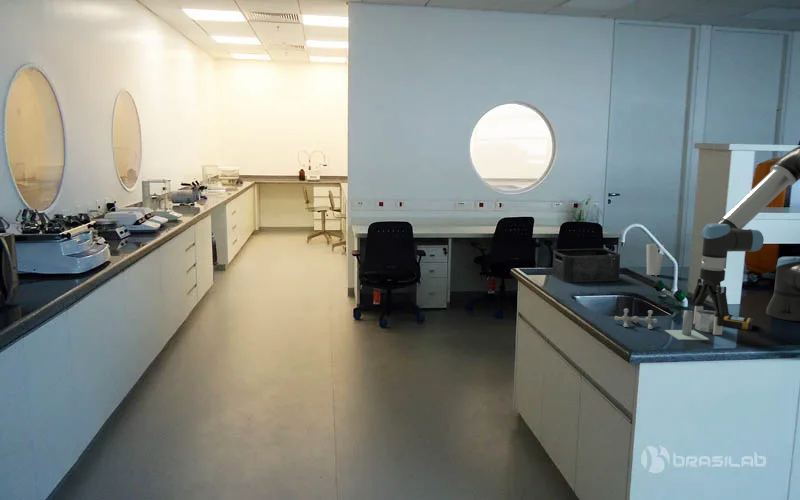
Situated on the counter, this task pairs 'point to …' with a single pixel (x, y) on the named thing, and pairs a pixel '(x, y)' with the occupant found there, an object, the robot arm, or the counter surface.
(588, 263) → the storage bin
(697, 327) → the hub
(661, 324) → the counter surface
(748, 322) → the electronic device
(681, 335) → the block
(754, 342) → the counter surface
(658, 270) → the cup
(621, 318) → the molecular model
